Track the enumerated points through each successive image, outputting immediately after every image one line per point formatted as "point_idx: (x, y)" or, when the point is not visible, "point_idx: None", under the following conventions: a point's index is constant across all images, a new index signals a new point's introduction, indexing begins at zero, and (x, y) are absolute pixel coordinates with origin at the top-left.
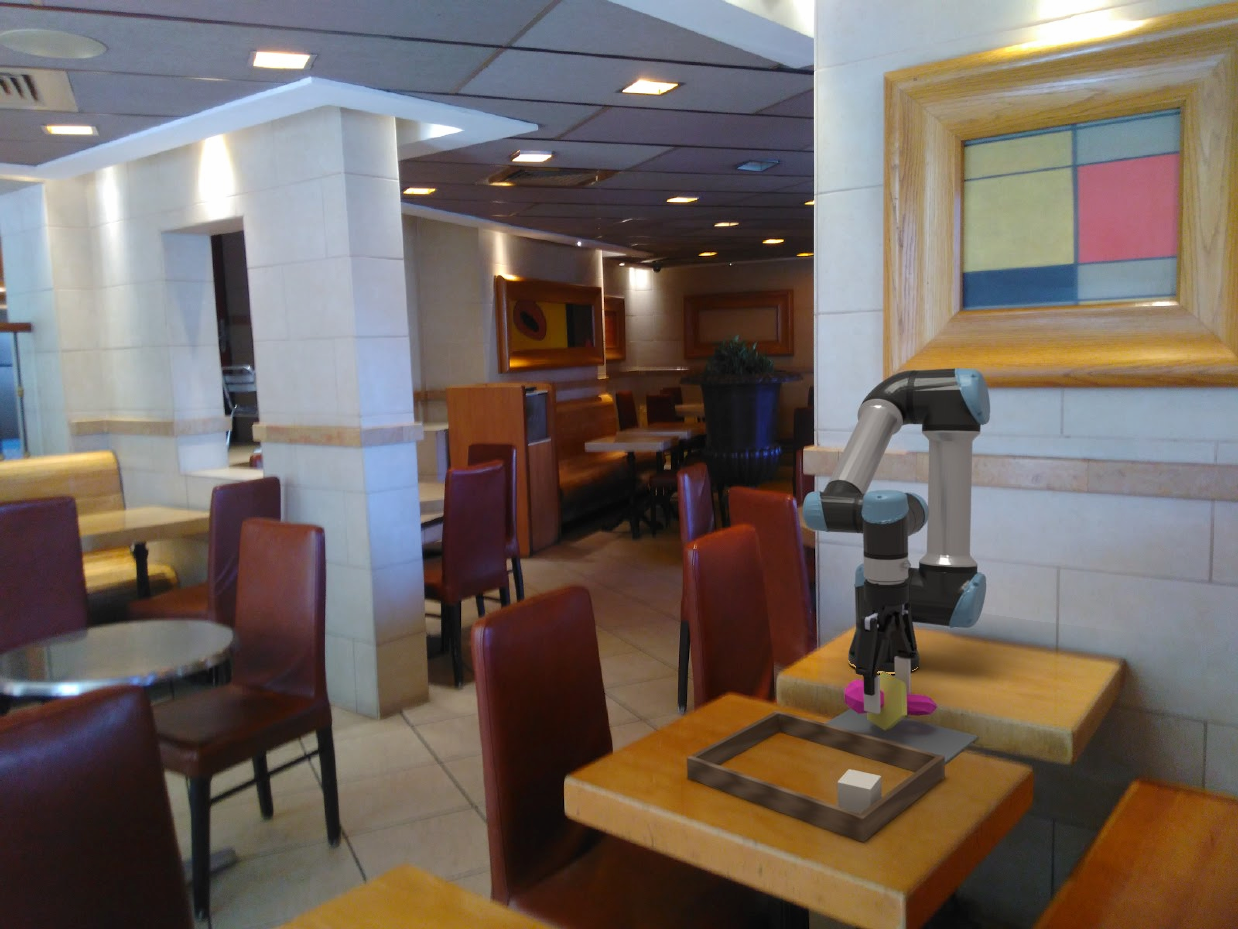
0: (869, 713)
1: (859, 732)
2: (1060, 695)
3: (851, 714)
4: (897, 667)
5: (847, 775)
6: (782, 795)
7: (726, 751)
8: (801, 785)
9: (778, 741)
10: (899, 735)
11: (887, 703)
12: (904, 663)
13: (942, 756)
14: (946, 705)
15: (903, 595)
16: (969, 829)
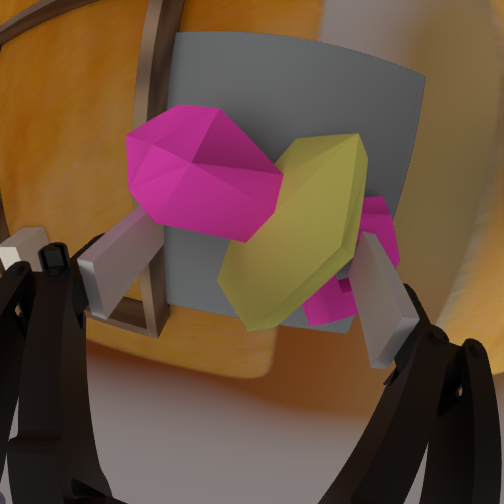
0: (284, 152)
1: (257, 128)
2: (498, 356)
3: (364, 74)
4: (383, 297)
5: (8, 251)
6: None
7: (28, 22)
8: (31, 154)
9: (131, 11)
10: None
11: (232, 245)
12: (374, 341)
13: (155, 336)
14: (478, 254)
15: None
16: (91, 340)
